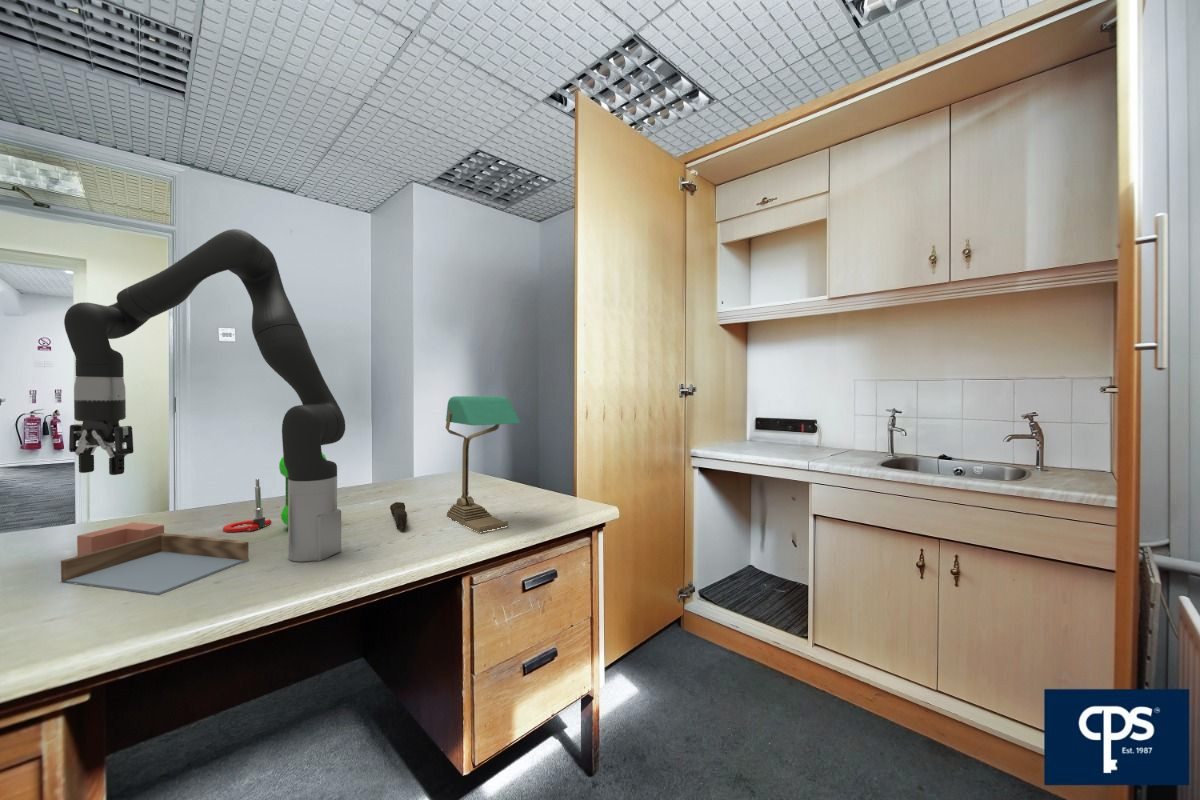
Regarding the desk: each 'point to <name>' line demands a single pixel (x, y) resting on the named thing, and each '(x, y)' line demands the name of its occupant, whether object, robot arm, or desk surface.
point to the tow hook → (259, 518)
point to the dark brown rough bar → (399, 515)
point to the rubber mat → (156, 572)
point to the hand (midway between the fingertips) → (101, 473)
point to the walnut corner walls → (150, 546)
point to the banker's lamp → (468, 413)
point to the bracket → (115, 536)
